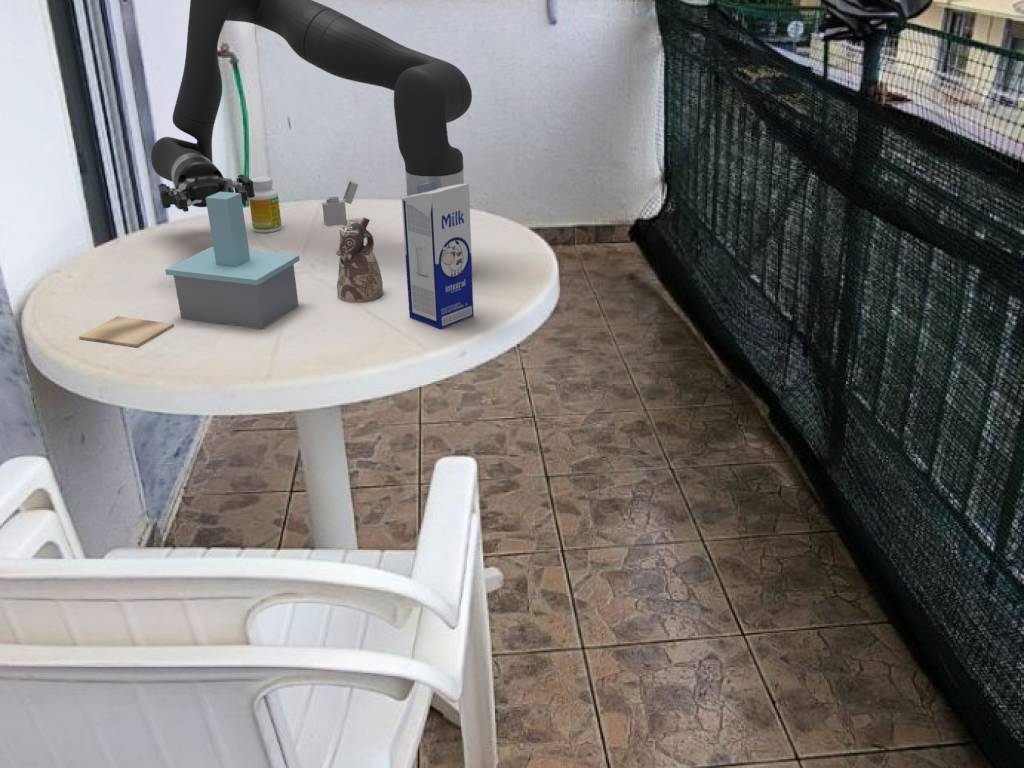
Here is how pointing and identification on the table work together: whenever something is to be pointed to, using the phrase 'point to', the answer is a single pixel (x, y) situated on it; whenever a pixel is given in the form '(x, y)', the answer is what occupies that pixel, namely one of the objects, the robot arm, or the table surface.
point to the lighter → (338, 206)
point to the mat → (127, 331)
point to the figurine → (357, 264)
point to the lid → (231, 248)
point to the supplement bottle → (265, 206)
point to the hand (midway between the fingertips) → (214, 201)
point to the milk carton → (438, 254)
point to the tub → (237, 300)
